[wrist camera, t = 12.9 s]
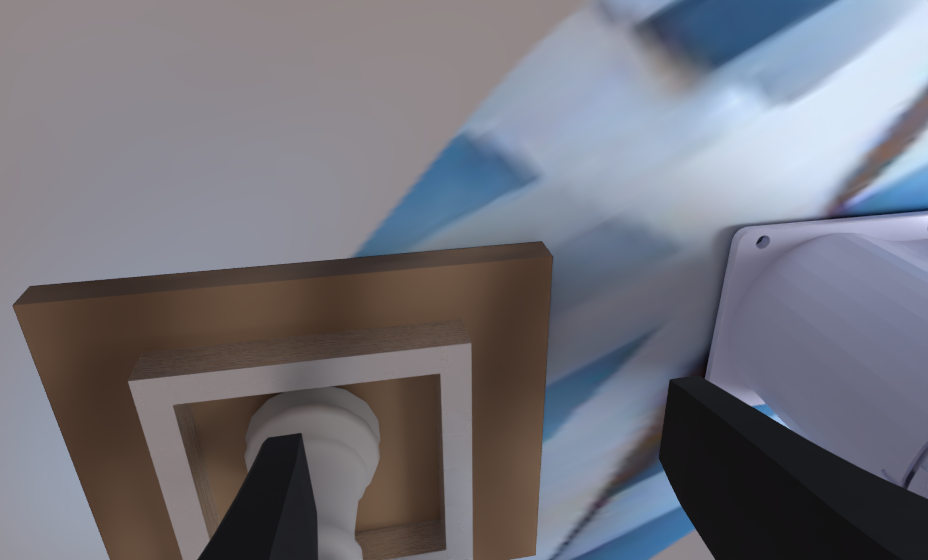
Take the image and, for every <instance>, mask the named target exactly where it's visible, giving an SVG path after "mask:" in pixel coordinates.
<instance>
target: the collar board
mask: <svg viewBox="0 0 928 560" xmlns="http://www.w3.org/2000/svg"><path fill="white" fill-rule="evenodd" d="M552 263H553V256H552V254H551V253H550V252H549V250H548V249H547V248H546V246H545V245H544V243H543V242H532V243H520V244H509V245H497V246H486V247H474V248H463V249H451V250H440V251H428V252H417V253H405V254H394V255H382V256H371V257H359V258H348V259H336V260H326V261H314V262H303V263H291V264H279V265H268V266H257V267H246V268H233V269H222V270H210V271H199V272H187V273H176V274H164V275H154V276H141V277H130V278H118V279H107V280H95V281H84V282H72V283H61V284H49V285H38V286H30V287H29V288H28V289H27V290H26V291H25V292H24V293H23V294H22V295H21V297H20V298H19V299H18V300H17V301H16V302H15V303H14V304H13V308H14V311H15V313H16V316H17V319H18V321H19V323H20V326H21V329H22V331H23V334H24V337H25V339H26V342H27V344H28V347H29V350H30V352H31V355H32V358H33V360H34V363H35V365H36V368H37V371H38V373H39V376H40V378H41V381H42V384H43V386H44V389H45V391H46V394H47V397H48V399H49V402H50V404H51V407H52V410H53V412H54V415H55V417H56V420H57V423H58V425H59V428H60V430H61V433H62V436H63V438H64V441H65V443H66V446H67V449H68V451H69V454H70V457H71V459H72V462H73V464H74V467H75V470H76V472H77V475H78V477H79V480H80V482H81V485H82V488H83V490H84V493H85V496H86V498H87V501H88V503H89V506H90V508H91V511H92V514H93V516H94V519H95V522H96V524H97V527H98V529H99V532H100V535H101V537H102V540H103V542H104V545H105V548H106V550H107V553H108V555H109V558H110V560H197V559H198V558H199V556H200V555H201V553H202V552H203V550H204V549H205V547H206V546H207V544H208V542H209V541H210V539H211V538H212V536H213V535H214V533H215V531H216V530H217V528H218V526H219V525H220V523H221V521H222V519H223V518H224V516H225V514H226V512H227V511H228V509H229V507H230V506H231V504H232V502H233V500H234V499H235V497H236V495H237V493H238V491H239V489H240V488H241V486H242V484H243V482H244V480H245V478H246V476H247V474H248V471H247V466H246V462H245V457H244V455H245V452H246V449H247V444H246V439H245V436H246V433H247V430H248V427H249V423H250V420H251V417H252V416H253V415H254V414H255V413H256V412H257V411H258V410H259V409H260V407H261V406H262V405H263V404H264V403H265V402H266V401H267V400H268V399H270V398H272V397H274V396H276V395H278V394H281V393H283V392H286V391H295V390H303V389H312V388H320V387H329V386H331V387H336V388H341V389H345V390H347V391H349V392H350V393H352V394H353V395H355V396H357V397H358V398H360V399H362V400H363V401H365V402H366V403H367V404H368V405H369V407H370V408H371V410H372V411H373V413H374V414H375V416H376V417H377V419H378V421H379V432H380V442H379V452H380V459H379V462H378V466H377V468H376V471H375V473H374V475H373V478H372V480H371V483H370V484H369V485H368V486H367V487H366V489H365V492H364V494H363V496H362V498H361V499H360V500H359V501H358V508H357V516H356V523H355V531H354V536H355V541H356V542H357V543H358V544H359V546H360V547H361V549H362V557H363V560H510V559H516V558H522V557H528V556H534V555H536V539H537V522H538V504H539V487H540V470H541V453H542V435H543V418H544V401H545V384H546V367H547V349H548V332H549V315H550V298H551V280H552Z"/></svg>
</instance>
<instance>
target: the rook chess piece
mask: <svg viewBox="0 0 928 560" xmlns="http://www.w3.org/2000/svg"><path fill="white" fill-rule="evenodd" d="M296 433H302V437H303V443H304V448H305V453H306V458H307V463H308V468H309V473H310V479H311V484H312V489H313V494H314V499H315V504H316V509H317V523H318V560H363V557H362V549H361V547H360V546H359V544H358V543H357V542H356V541H355V536H354V531H355V523H356V516H357V508H358V501H359V500H360V499H361V498H362V496H363V494H364V492H365V489H366V487H367V486H368V485H369V484H370V483H371V480H372V478H373V475H374V473H375V471H376V468H377V466H378V462H379V459H380V452H379V442H380V432H379V421H378V419H377V417H376V416H375V414H374V413H373V411H372V410H371V408H370V407H369V405H368V404H367V403H366V402H365V401H363V400H362V399H360V398H358V397H357V396H355V395H353V394H352V393H350V392H349V391H347V390H345V389H341V388H336V387H331V386H329V387H320V388H312V389H303V390H295V391H286V392H283V393H281V394H278V395H276V396H274V397H272V398H270V399H268V400H267V401H266V402H265V403H264V404H263V405H262V406H261V407H260V409H259V410H258V411H257V412H256V413H255V414H254V415H253V416H252V417H251V420H250V423H249V427H248V430H247V433H246V436H245V439H246V444H247V449H246V452H245V455H244V457H245V462H246V466H247V471H248V472H249V470H250V468H251V466H252V464H253V462H254V460H255V458H256V456H257V454H258V452H259V450H260V447H261V445H262V443H263V442H264V441H265V440H266V439H267V438H268V437H275V436H282V435H289V434H296Z"/></svg>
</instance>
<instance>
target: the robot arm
mask: <svg viewBox="0 0 928 560" xmlns="http://www.w3.org/2000/svg"><path fill="white" fill-rule="evenodd" d="M761 236H763V239H762V241H761V242H760V243H759V244H756V242H757V240H758V239H759V238H760V237H761ZM761 404H767V405H768V406H769V407H770V408H771V409H772V411H773V412H774V413H775V414H776V415H777V416H778V417H779V418H780V419H781V420H782V421H783V422H784V423H785V424H786V425H787V426H788V427H789V428H790V429H791V430H790V429H788V428H787V427H785V426H783V425H782V424H780V423H778V422H776V421H775V420H773V419H771V418H770V417H768V416H766V415H765V414H763V413H761V412H760V411H758V410H756V409H755V408H753V407H751V406H754V405H761ZM659 460H660V462H661V464H662V466H663V468H664V471H665V473H666V475H667V477H668V480H669V482H670V484H671V486H672V488H673V490H674V492H675V494H676V496H677V498H678V500H679V502H680V504H681V506H682V508H683V509H684V511H685V512H686V514H687V516H688V517H689V519H690V520H691V522H692V524H693V525H694V527H695V528H696V530H697V532H698V533H699V535H700V536H701V538H702V540H703V541H704V542H705V544H706V545H707V547H708V549H709V550H710V552H711V553H712V555H713V557H714V558H715V560H928V211H920V212H909V213H898V214H886V215H875V216H863V217H852V218H841V219H829V220H818V221H807V222H795V223H784V224H772V225H761V226H750V227H745V228H742V229H740V230H739V231H737V233H736V234H735V235H734V237H733V239H732V243H731V248H730V253H729V258H728V264H727V269H726V274H725V279H724V284H723V289H722V294H721V299H720V304H719V309H718V314H717V319H716V324H715V329H714V335H713V340H712V345H711V350H710V355H709V360H708V365H707V370H706V375H705V379H704V378H702V377H700V376H691V377H684V378H677V379H671V380H670V381H669V389H668V396H667V403H666V410H665V417H664V424H663V431H662V439H661V446H660V453H659ZM197 560H318V523H317V509H316V504H315V499H314V494H313V489H312V484H311V479H310V473H309V468H308V463H307V458H306V453H305V448H304V443H303V437H302V433H296V434H289V435H282V436H275V437H268V438H267V439H266V440H265V441H264V442H263V443H262V445H261V447H260V450H259V452H258V454H257V456H256V458H255V460H254V462H253V464H252V466H251V468H250V470H249V472H248V474H247V476H246V478H245V480H244V482H243V484H242V486H241V488H240V489H239V491H238V493H237V495H236V497H235V499H234V500H233V502H232V504H231V506H230V507H229V509H228V511H227V512H226V514H225V516H224V518H223V519H222V521H221V523H220V525H219V526H218V528H217V530H216V531H215V533H214V535H213V536H212V538H211V539H210V541H209V542H208V544H207V546H206V547H205V549H204V550H203V552H202V553H201V555H200V556H199V558H198V559H197Z"/></svg>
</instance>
